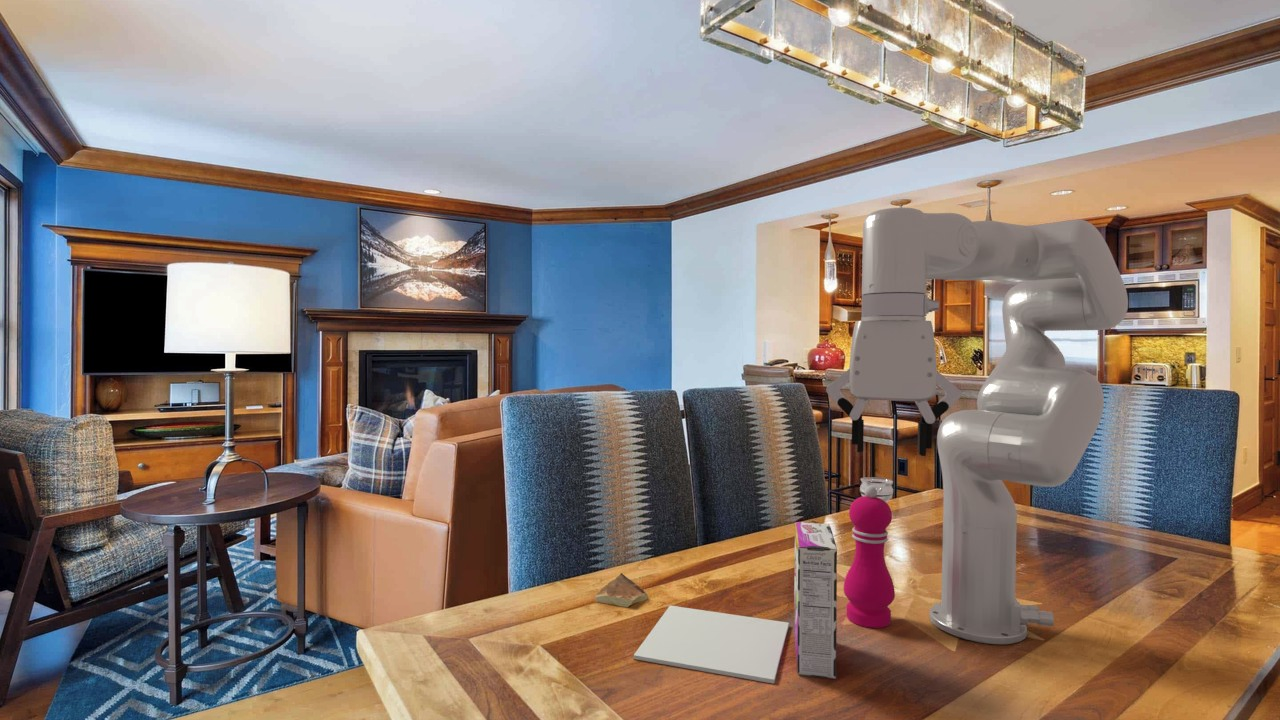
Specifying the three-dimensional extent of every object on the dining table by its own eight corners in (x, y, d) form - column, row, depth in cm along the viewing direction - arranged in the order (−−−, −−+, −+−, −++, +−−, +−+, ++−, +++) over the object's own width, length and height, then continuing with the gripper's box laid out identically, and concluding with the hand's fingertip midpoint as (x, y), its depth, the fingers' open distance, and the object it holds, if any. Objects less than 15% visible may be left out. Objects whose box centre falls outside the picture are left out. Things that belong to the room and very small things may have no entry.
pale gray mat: (788, 626, 94) (788, 622, 94) (774, 683, 78) (774, 679, 78) (669, 608, 100) (669, 605, 100) (633, 659, 84) (633, 655, 84)
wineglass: (897, 540, 136) (898, 483, 136) (865, 540, 136) (866, 483, 136) (885, 531, 143) (886, 477, 143) (854, 530, 143) (855, 476, 143)
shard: (621, 581, 113) (621, 571, 113) (662, 588, 110) (662, 577, 110) (592, 604, 103) (592, 593, 103) (637, 612, 100) (637, 600, 100)
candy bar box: (792, 636, 91) (794, 520, 90) (829, 640, 90) (831, 523, 89) (795, 676, 80) (797, 544, 79) (837, 681, 79) (839, 547, 78)
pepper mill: (888, 634, 92) (891, 494, 91) (837, 622, 96) (839, 487, 95) (898, 616, 98) (901, 485, 97) (849, 605, 102) (852, 479, 101)
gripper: (965, 311, 82) (962, 452, 82) (822, 312, 87) (820, 444, 88) (975, 307, 75) (972, 462, 75) (819, 309, 80) (817, 452, 81)
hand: (890, 451), depth 81 cm, fingers open, 6 cm apart
